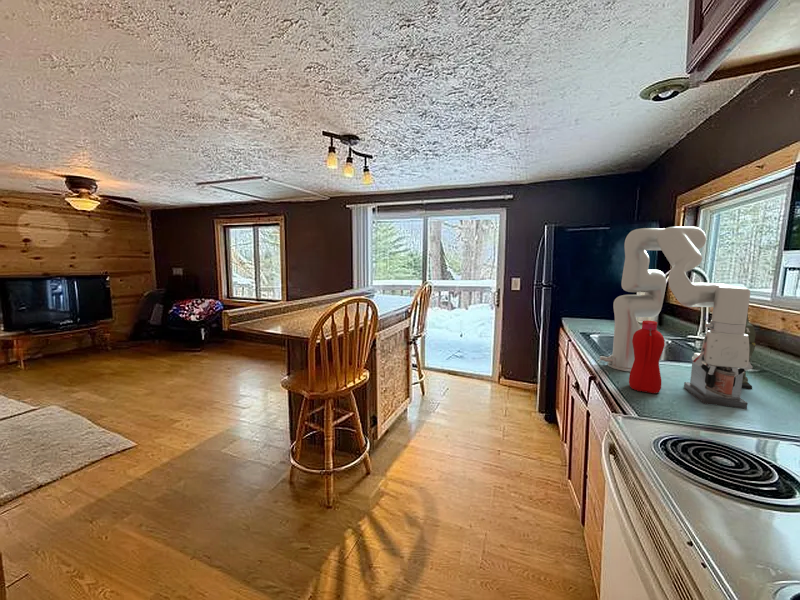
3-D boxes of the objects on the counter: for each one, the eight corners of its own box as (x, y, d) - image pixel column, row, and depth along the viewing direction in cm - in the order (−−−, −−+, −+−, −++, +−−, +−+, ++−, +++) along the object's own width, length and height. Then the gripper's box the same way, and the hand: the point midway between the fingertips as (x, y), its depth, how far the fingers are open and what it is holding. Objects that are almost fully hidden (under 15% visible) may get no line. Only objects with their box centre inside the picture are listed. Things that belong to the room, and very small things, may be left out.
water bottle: (630, 392, 125) (636, 322, 123) (627, 383, 135) (632, 318, 132) (662, 397, 121) (669, 325, 118) (657, 387, 131) (663, 320, 128)
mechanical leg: (764, 390, 125) (758, 305, 129) (740, 389, 127) (735, 305, 130) (736, 386, 139) (731, 309, 142) (714, 385, 140) (710, 309, 144)
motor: (704, 403, 116) (708, 363, 114) (683, 387, 131) (687, 351, 129) (747, 408, 112) (752, 367, 111) (721, 391, 127) (725, 354, 126)
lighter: (735, 398, 104) (740, 365, 103) (723, 397, 104) (728, 365, 103) (712, 387, 112) (716, 356, 111) (701, 387, 112) (705, 356, 111)
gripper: (698, 328, 105) (690, 388, 107) (771, 333, 99) (761, 395, 102) (687, 323, 112) (680, 379, 114) (755, 327, 106) (746, 386, 109)
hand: (719, 386), depth 108 cm, fingers closed on lighter, 3 cm apart
